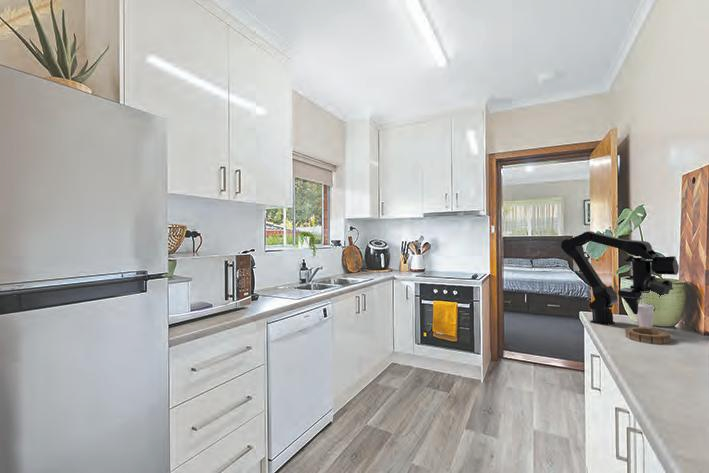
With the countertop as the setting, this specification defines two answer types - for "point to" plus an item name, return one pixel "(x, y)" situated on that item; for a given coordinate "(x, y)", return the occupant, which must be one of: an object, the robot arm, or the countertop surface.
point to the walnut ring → (647, 335)
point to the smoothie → (645, 314)
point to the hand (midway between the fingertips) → (644, 312)
